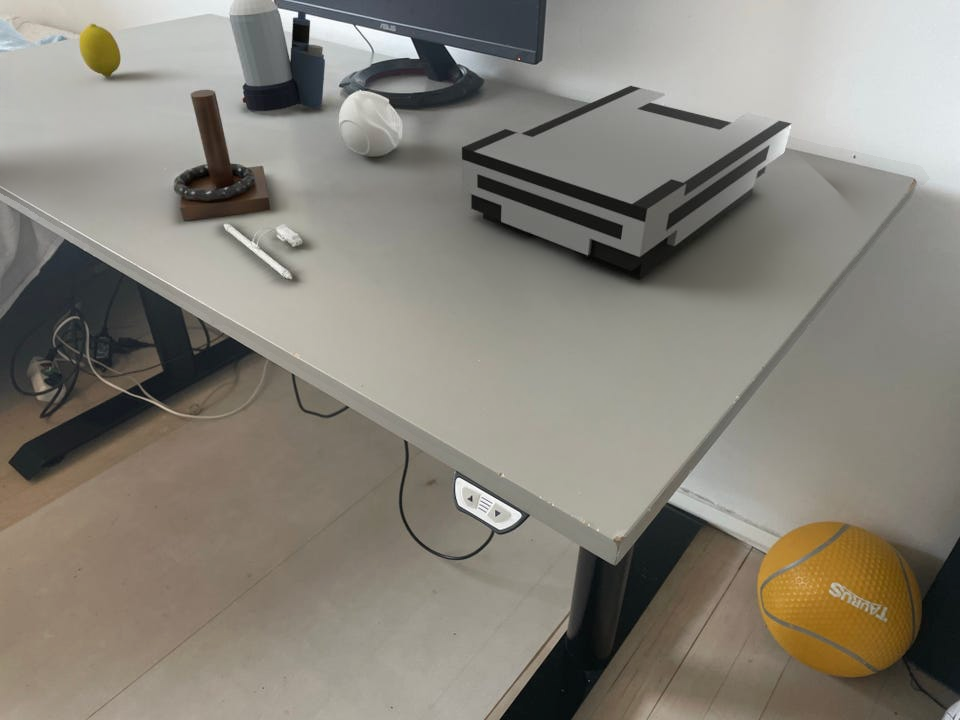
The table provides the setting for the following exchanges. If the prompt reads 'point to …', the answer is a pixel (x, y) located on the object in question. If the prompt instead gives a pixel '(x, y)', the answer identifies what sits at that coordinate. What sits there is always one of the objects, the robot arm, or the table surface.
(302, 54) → the vaping device
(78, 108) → the table surface
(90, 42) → the lemon
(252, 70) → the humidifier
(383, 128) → the white ridged ball
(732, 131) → the game console
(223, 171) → the stand
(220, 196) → the ring
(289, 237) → the picture light
